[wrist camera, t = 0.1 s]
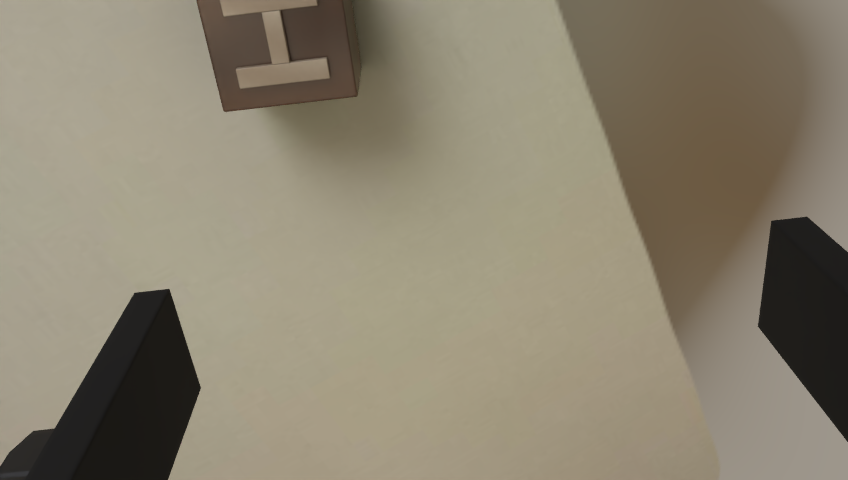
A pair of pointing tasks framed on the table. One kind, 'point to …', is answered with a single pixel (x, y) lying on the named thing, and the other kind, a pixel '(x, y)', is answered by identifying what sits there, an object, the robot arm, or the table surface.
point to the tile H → (281, 51)
